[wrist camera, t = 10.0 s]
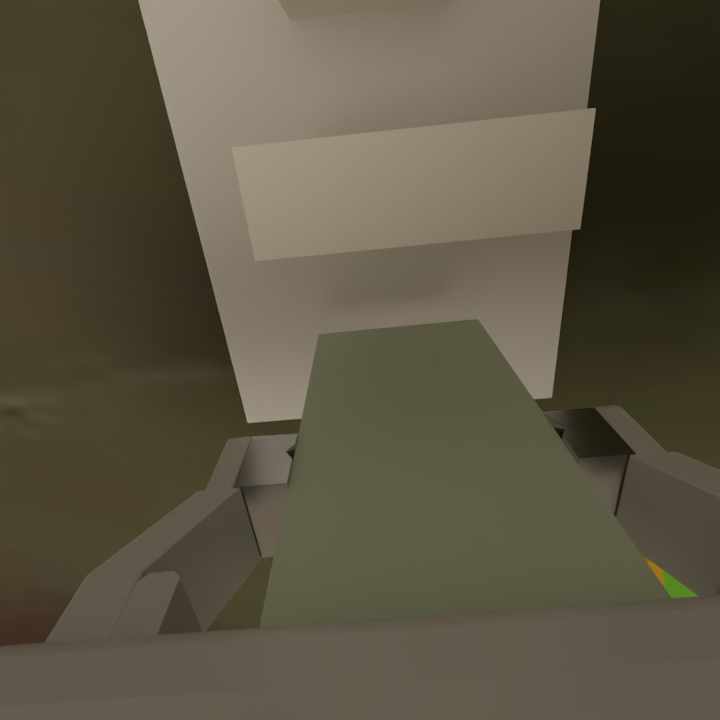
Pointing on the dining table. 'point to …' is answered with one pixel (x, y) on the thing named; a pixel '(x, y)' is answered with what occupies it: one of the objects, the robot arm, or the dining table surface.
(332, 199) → the domino
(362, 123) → the mat
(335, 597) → the domino
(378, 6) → the domino
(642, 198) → the dining table surface
